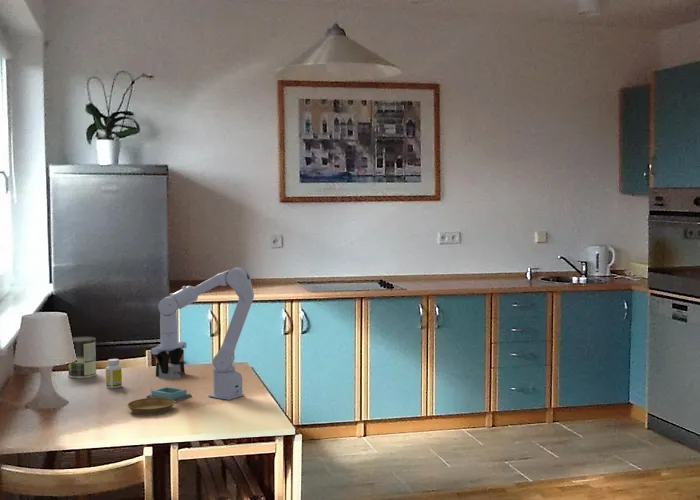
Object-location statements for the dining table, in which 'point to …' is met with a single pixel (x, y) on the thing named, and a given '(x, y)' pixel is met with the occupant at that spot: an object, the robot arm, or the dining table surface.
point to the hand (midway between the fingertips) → (169, 372)
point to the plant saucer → (151, 405)
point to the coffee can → (83, 358)
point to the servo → (171, 372)
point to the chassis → (169, 393)
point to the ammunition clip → (170, 363)
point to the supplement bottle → (113, 374)
